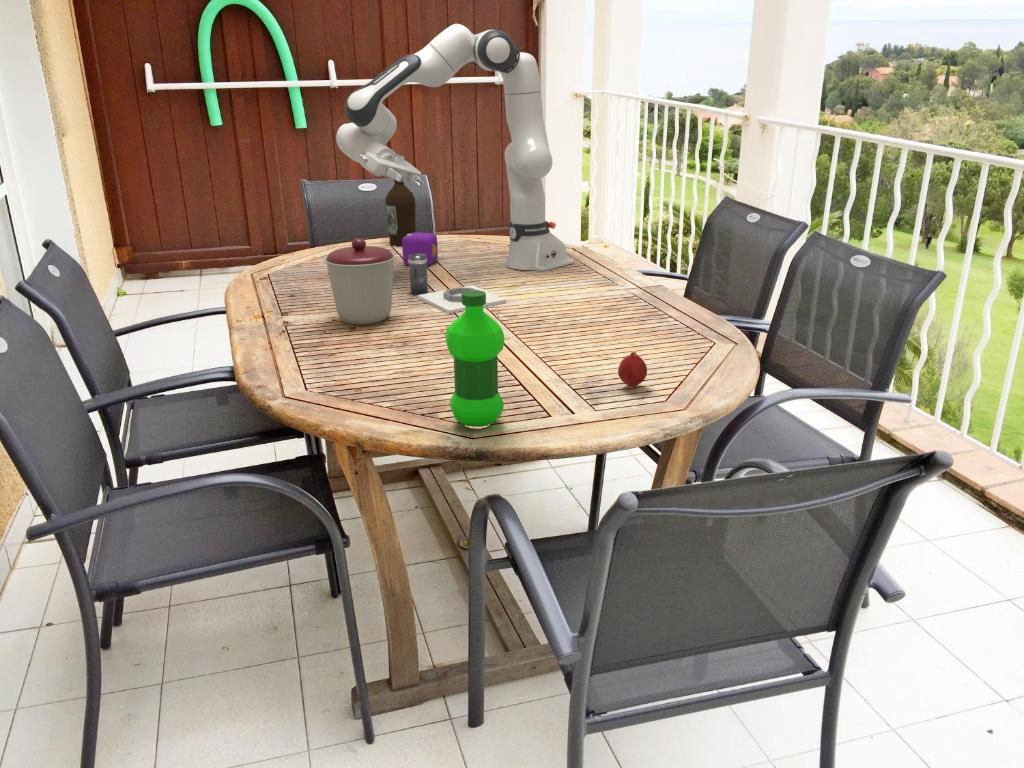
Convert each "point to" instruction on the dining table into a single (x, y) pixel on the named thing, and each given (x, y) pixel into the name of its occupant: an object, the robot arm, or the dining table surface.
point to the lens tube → (418, 273)
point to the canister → (361, 282)
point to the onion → (632, 370)
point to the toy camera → (420, 246)
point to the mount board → (457, 305)
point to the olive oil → (400, 213)
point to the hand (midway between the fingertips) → (411, 182)
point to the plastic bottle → (475, 362)
